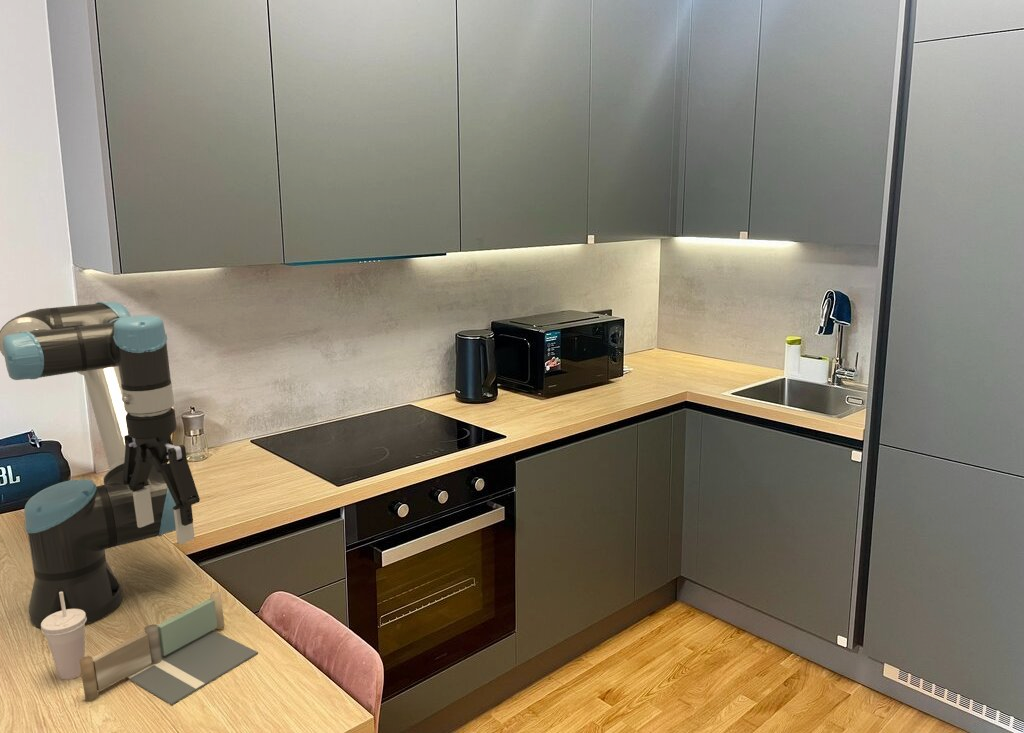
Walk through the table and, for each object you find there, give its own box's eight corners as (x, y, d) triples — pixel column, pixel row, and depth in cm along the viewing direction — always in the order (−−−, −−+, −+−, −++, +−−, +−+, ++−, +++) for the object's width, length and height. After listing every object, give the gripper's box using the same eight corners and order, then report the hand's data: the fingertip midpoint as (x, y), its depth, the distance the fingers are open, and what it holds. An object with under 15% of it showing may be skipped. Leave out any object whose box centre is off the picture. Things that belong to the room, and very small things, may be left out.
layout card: (99, 662, 135) (99, 660, 134) (185, 618, 147) (185, 616, 147) (171, 705, 124) (171, 703, 123) (258, 653, 136) (257, 651, 136)
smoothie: (101, 660, 135) (89, 583, 132) (83, 684, 129) (69, 604, 126) (61, 661, 135) (48, 584, 132) (41, 685, 129) (27, 605, 125)
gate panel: (165, 658, 135) (161, 625, 133) (159, 654, 136) (154, 621, 134) (226, 625, 144) (223, 593, 142) (220, 622, 145) (216, 590, 143)
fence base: (82, 698, 125) (76, 660, 124) (157, 657, 135) (152, 622, 134) (89, 703, 124) (83, 664, 123) (164, 661, 134) (160, 626, 133)
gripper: (89, 404, 138) (106, 524, 144) (171, 428, 125) (187, 559, 131) (131, 394, 144) (146, 509, 150) (213, 415, 131) (227, 541, 137)
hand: (165, 532), depth 140 cm, fingers open, 11 cm apart
